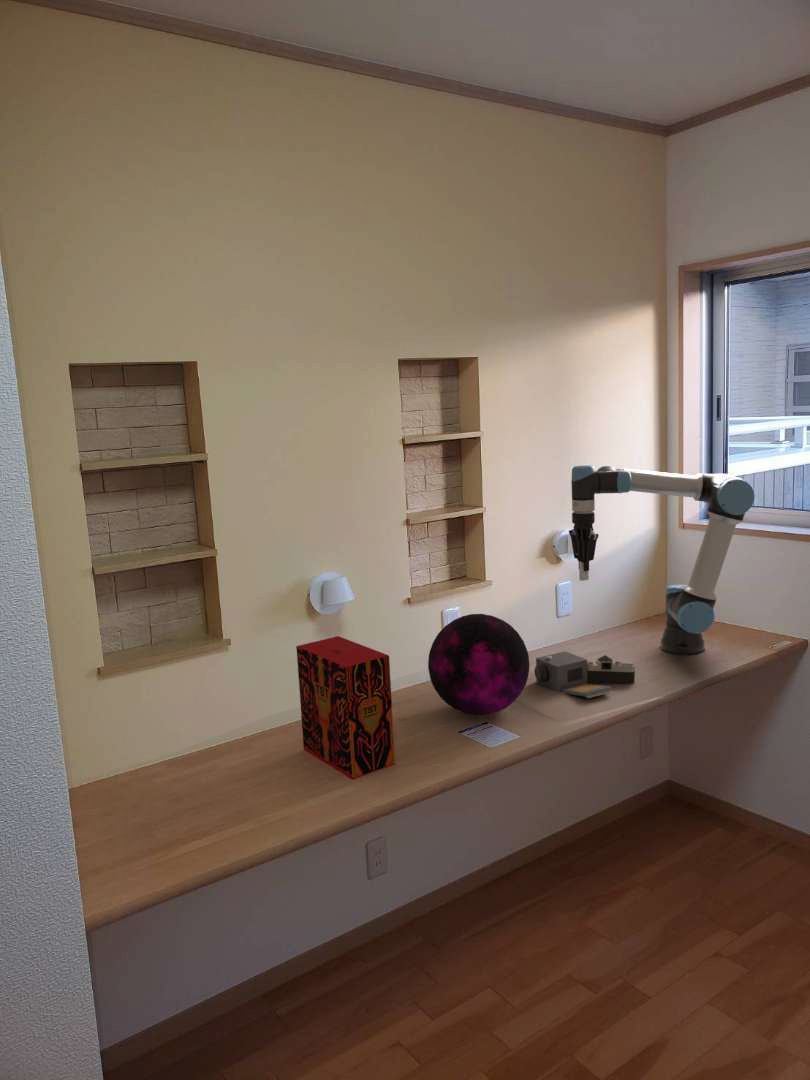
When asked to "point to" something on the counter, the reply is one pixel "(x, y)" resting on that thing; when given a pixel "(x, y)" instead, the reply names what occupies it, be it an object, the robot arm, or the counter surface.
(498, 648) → the purple mottled sphere
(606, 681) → the camera
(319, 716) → the box
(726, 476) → the robot arm
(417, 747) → the counter surface
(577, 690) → the side door
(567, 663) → the box
